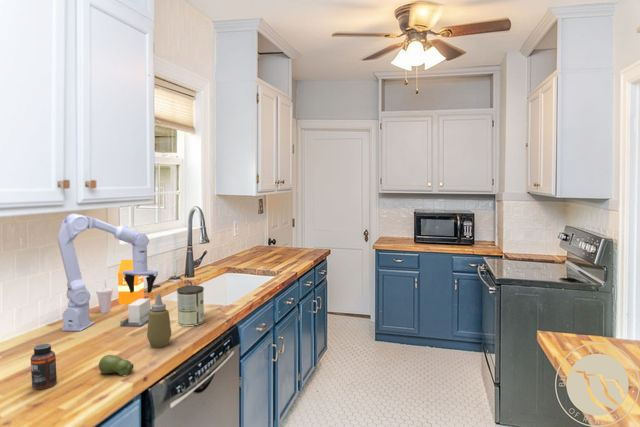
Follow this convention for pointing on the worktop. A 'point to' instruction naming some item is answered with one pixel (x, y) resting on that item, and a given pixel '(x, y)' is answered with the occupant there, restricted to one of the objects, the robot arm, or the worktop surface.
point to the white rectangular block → (138, 310)
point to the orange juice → (123, 288)
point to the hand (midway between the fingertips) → (140, 292)
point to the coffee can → (190, 305)
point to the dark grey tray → (126, 323)
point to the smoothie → (104, 299)
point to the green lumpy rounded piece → (115, 365)
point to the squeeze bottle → (158, 324)
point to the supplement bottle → (43, 367)
